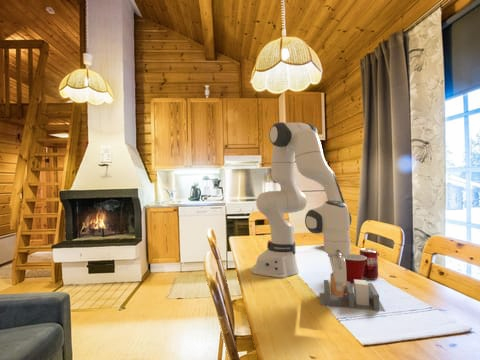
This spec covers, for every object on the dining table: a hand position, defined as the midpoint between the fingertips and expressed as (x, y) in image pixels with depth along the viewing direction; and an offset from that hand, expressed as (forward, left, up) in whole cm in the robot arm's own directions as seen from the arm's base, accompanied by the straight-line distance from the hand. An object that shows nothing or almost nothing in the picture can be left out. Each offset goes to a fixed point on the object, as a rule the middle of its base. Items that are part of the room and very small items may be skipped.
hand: (338, 286), depth 92 cm
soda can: (+16, +30, -7) cm, 35 cm away
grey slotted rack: (+4, 0, -6) cm, 7 cm away
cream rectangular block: (+7, 0, -5) cm, 9 cm away
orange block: (0, 0, -3) cm, 3 cm away
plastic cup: (+8, +20, -7) cm, 23 cm away
